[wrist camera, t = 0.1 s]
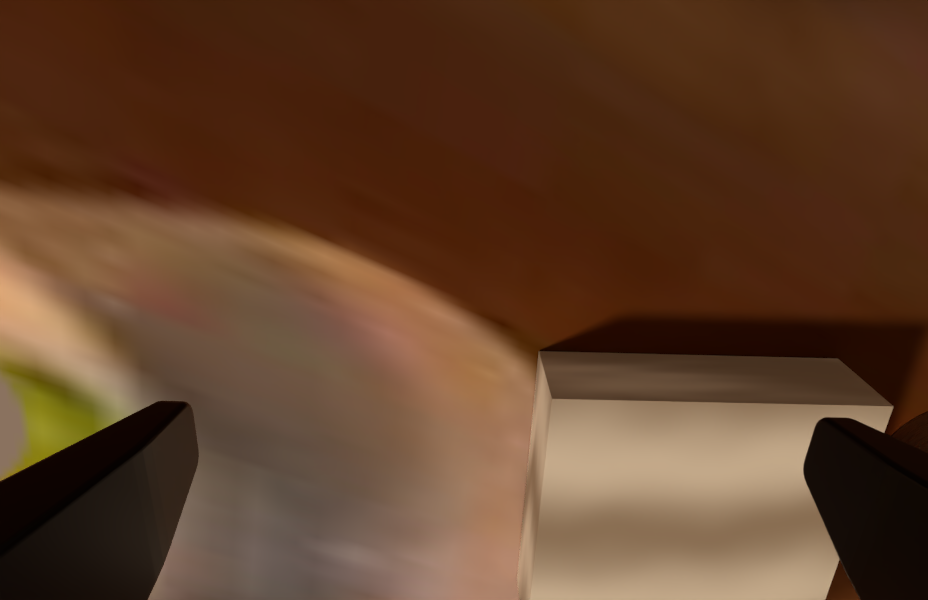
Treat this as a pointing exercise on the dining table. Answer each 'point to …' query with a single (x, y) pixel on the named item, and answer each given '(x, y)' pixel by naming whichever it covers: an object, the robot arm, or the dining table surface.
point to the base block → (680, 476)
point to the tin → (915, 432)
